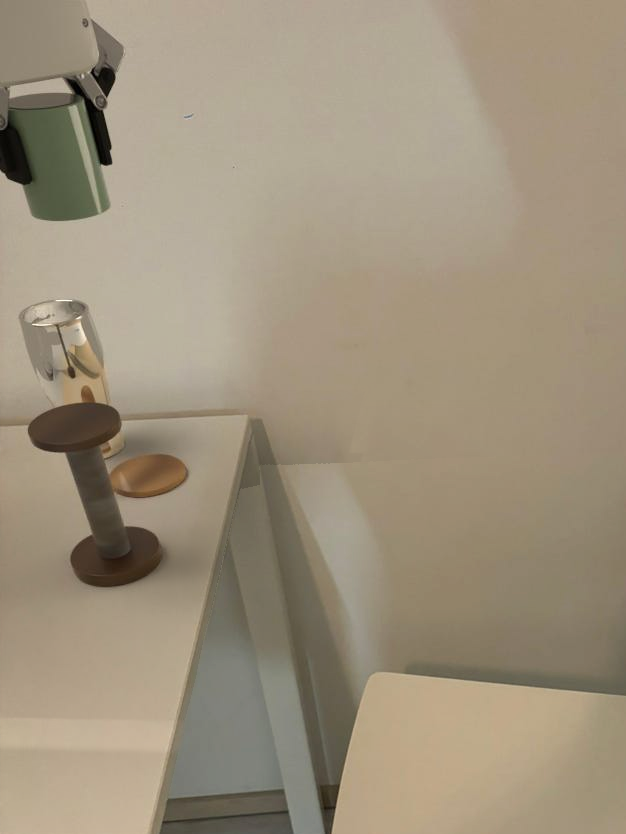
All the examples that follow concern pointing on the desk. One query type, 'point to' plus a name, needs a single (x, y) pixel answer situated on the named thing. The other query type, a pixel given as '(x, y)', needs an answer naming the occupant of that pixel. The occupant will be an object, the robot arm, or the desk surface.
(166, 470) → the coaster
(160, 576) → the desk surface
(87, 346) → the beer glass
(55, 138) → the cup
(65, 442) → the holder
